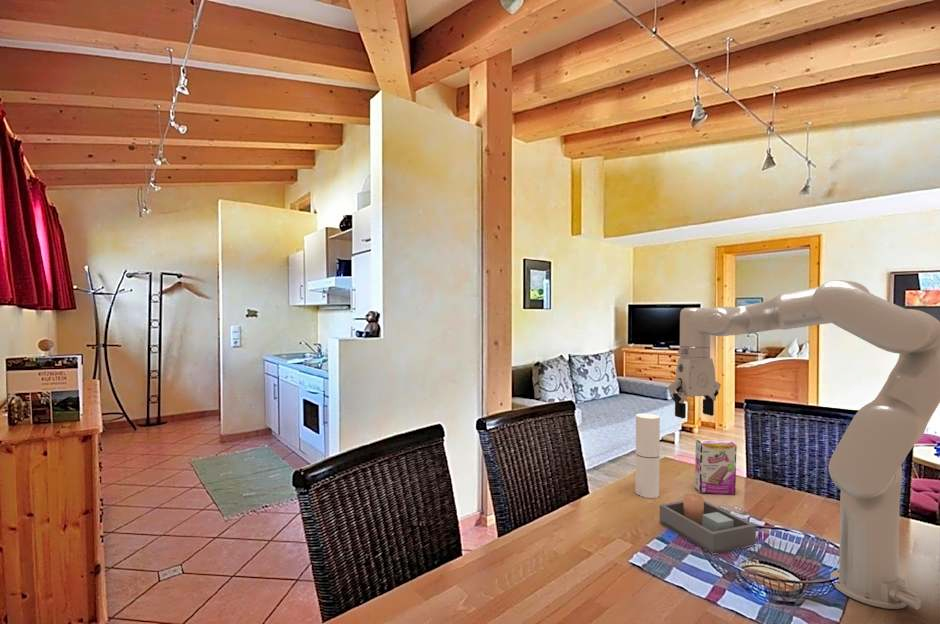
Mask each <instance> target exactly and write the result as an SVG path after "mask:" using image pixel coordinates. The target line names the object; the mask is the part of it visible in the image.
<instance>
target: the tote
mask: <svg viewBox="0 0 940 624" xmlns="http://www.w3.org/2000/svg"><path fill="white" fill-rule="evenodd" d="M714 512H718V513H720V514H722V515H724V516H726V517H728V518H730V519H732V520H734V526H733V528H729V529H724V530H719V531H714V532H712V531H710V530H709V529H707V528H705V527H703V526H701V525H699V524H698V523H696V522H694V521H692V520H690V519H688V518H687V517H685V516H684V508H683V500H680V501H674V502H668V503H663V504H659V524H661V525H663V526H664V527H666V528H667V529H669V530H671V531H672V532H674V533H675V534H678V536H679V535H680V537H682V538H684V539H686V540H687V541H689V542H691V543H692V544H694V545H696V546H697V547H699V546H701V547H702V548H704V549H706V550H707V551H709V552H711V553H713V554H714V553H719V554H724V553H727V552H731V551H732V550H733V551H736V550H735V549H737V550H741V549H740V548H742V547H746V546H749V545H754V544H756V542H757V541H756V539H757V536H756V535H757V529H756V528H757V525H755V524H753V523H751V522H749V521H747V520H745V519H743V518H741V517H738V516H736V515H735V514H732V513H730V512H729V511H726V510H725V509H723V508H721V507H719V506H716V505H714V504H712V503H709V502H708V501H706V500H704V514H709V513H714ZM756 545H757V544H756ZM702 548H701V549H702ZM738 548H739V549H738ZM746 548H747V547H746ZM704 549H703V550H704ZM742 549H743V548H742ZM707 551H706V552H707ZM709 552H708V553H709ZM723 552H724V553H723Z"/></svg>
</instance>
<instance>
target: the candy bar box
mask: <svg viewBox="0 0 940 624" xmlns="http://www.w3.org/2000/svg"><path fill="white" fill-rule="evenodd" d="M737 447H738V446H737V444H736V443H734V442H733V441H731V440H718V439H695V465H694V466H695V467H694V472H695V473H694V489H695V490H696V491H697V492H698V493H699V494H709V495H714V494H715V495H727V496H729V495H732V496H735V495H736V482H737V481H736V480H737V450H738V448H737Z"/></svg>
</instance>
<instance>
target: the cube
mask: <svg viewBox="0 0 940 624" xmlns="http://www.w3.org/2000/svg"><path fill="white" fill-rule="evenodd" d="M702 526H703V527H705V528H707V529H709V530H710V531H712V532H714V531H719V530H724V529H729V528H733V526H734V520H732V519H730V518H728V517H726V516H724V515H722V514H720V513H718V512H714V513H709V514H703V515H702Z"/></svg>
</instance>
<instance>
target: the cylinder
mask: <svg viewBox="0 0 940 624" xmlns="http://www.w3.org/2000/svg"><path fill="white" fill-rule="evenodd" d="M682 497H683V498H682V499H683V500H682V501H683V508H684V516H685V517H687V518H688V519H690V520H692V521H694V522H696V523H698V524H699V525H701V526H702V515H703V514H704V501H705V500H704V497H703V496H701V495H699V494H695V493H686V494H685V493H684V494H683V496H682Z"/></svg>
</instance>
